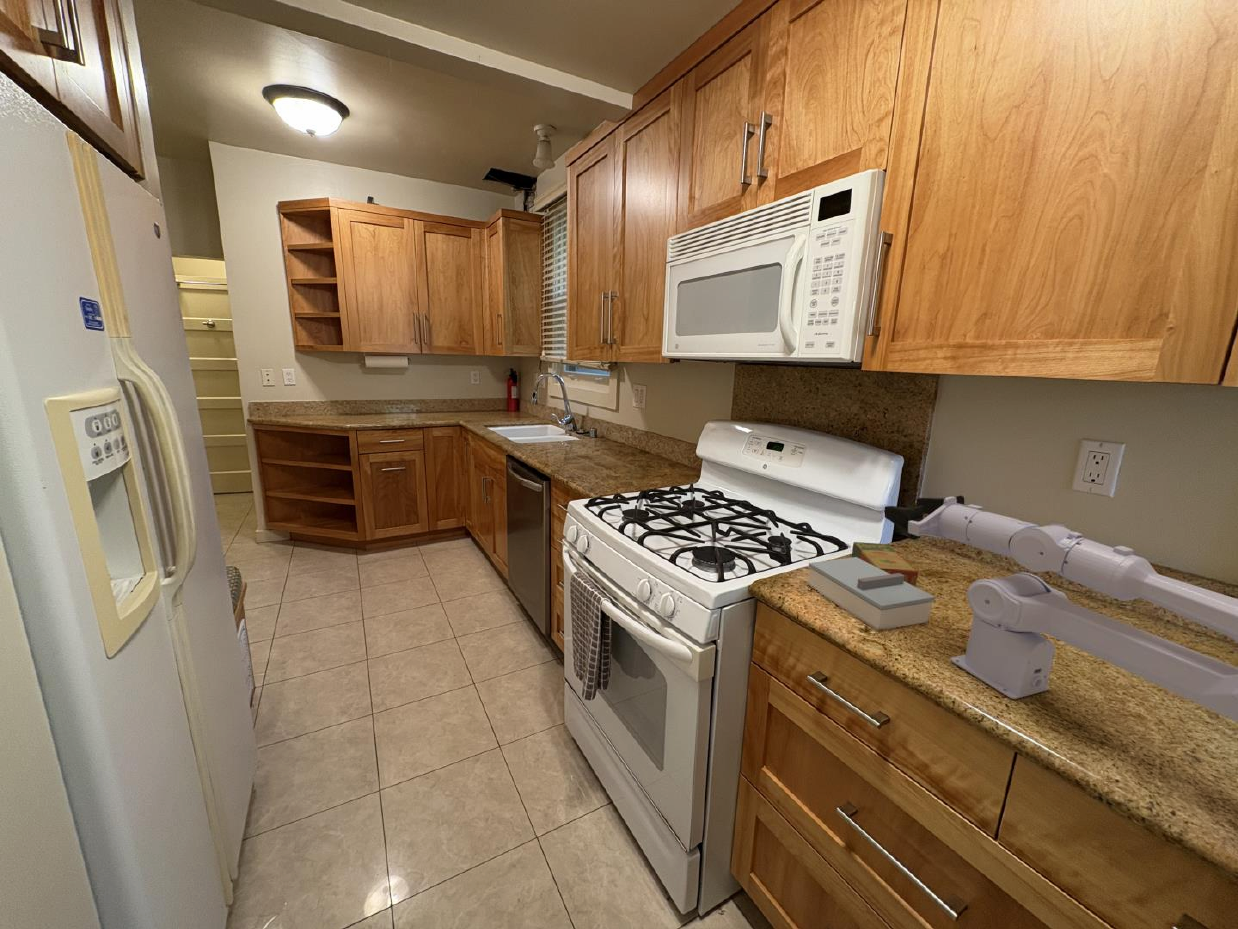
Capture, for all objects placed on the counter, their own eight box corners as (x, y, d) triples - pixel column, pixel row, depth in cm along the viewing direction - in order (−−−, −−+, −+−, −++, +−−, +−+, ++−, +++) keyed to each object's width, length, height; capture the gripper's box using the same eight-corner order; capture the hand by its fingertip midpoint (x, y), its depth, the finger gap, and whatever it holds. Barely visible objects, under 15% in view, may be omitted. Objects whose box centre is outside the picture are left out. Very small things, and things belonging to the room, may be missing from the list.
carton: (874, 586, 103) (877, 567, 102) (850, 556, 118) (852, 540, 117) (916, 589, 102) (919, 570, 101) (886, 559, 117) (888, 542, 116)
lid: (934, 600, 87) (936, 588, 87) (881, 609, 83) (883, 596, 83) (855, 560, 104) (857, 549, 104) (808, 566, 100) (810, 555, 100)
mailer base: (928, 621, 88) (932, 601, 87) (877, 631, 84) (881, 610, 84) (853, 579, 105) (855, 561, 104) (807, 585, 101) (809, 567, 100)
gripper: (1012, 495, 77) (932, 479, 89) (945, 513, 72) (871, 493, 85) (1009, 537, 78) (931, 515, 91) (944, 557, 74) (871, 531, 86)
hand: (902, 507), depth 88 cm, fingers open, 7 cm apart
